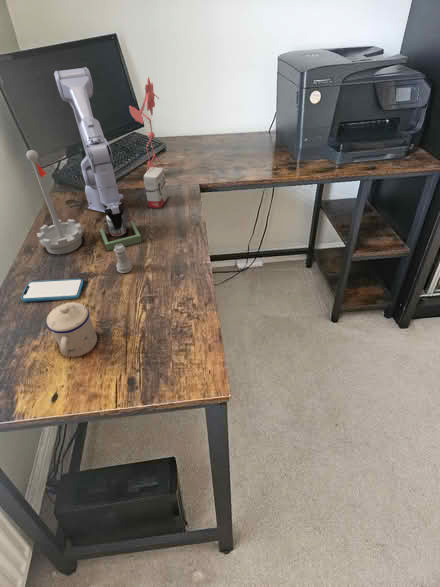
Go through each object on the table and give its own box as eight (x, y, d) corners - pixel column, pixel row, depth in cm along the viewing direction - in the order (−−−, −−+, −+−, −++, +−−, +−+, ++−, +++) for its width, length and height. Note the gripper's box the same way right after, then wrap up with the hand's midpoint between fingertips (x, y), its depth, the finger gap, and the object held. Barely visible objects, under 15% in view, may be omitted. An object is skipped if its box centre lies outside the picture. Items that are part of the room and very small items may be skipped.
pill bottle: (119, 226, 129) (113, 202, 123) (129, 231, 126) (124, 207, 120) (107, 233, 126) (100, 209, 120) (117, 238, 123) (110, 214, 117)
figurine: (138, 185, 152) (120, 88, 129) (151, 159, 172) (137, 71, 149) (177, 185, 151) (165, 86, 128) (185, 159, 170) (176, 69, 147)
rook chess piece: (135, 266, 112) (130, 243, 107) (127, 275, 109) (121, 252, 104) (121, 263, 113) (116, 240, 108) (114, 272, 110) (107, 249, 105)
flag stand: (35, 245, 122) (-5, 152, 102) (71, 228, 129) (41, 138, 109) (56, 261, 115) (17, 164, 95) (93, 242, 122) (64, 148, 102)
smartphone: (77, 296, 101) (19, 299, 101) (79, 299, 102) (21, 302, 101) (83, 278, 107) (28, 281, 106) (84, 281, 108) (30, 284, 107)
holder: (101, 235, 125) (99, 228, 124) (134, 227, 128) (132, 220, 127) (107, 250, 118) (105, 244, 117) (141, 241, 122) (140, 235, 120)
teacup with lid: (64, 330, 93) (48, 294, 86) (101, 327, 93) (89, 291, 86) (50, 370, 84) (31, 334, 77) (92, 367, 84) (77, 331, 77)
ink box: (161, 208, 137) (156, 177, 129) (148, 207, 138) (142, 176, 130) (168, 197, 144) (164, 167, 136) (155, 196, 144) (151, 166, 137)
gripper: (125, 191, 111) (134, 231, 120) (114, 172, 121) (123, 210, 130) (101, 196, 109) (111, 237, 118) (92, 177, 119) (102, 215, 128)
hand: (116, 223), depth 124 cm, fingers closed on pill bottle, 5 cm apart
